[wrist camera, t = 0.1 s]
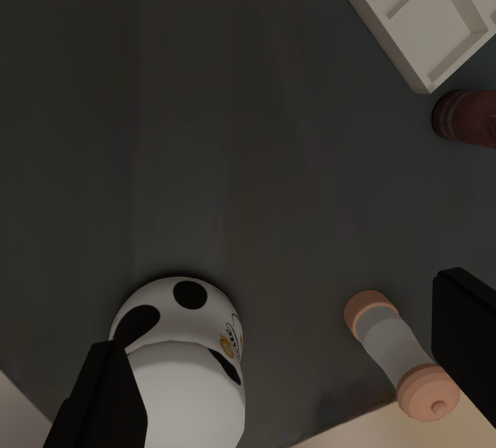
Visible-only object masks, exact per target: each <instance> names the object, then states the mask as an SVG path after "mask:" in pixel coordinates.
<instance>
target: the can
mask: <svg viewBox="0 0 496 448" xmlns="http://www.w3.org/2000/svg"><path fill="white" fill-rule="evenodd" d="M433 124H434V128H435V130H436V132H437V133H438V134H439V135H440V136H441V137H442V138H445V139H448V140H453V141H458V142H463V143H468V144H473V145H478V146H483V147H488V148H493V149H496V90H456V91H453V92H450V93H449V94H447V95H446V96H444V97H443V98H442V99H441V101H440V102H439V103H438V104H437V106H436V108H435V111H434V115H433Z"/></svg>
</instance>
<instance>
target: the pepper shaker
mask: <svg viewBox="0 0 496 448" xmlns="http://www.w3.org/2000/svg"><path fill="white" fill-rule="evenodd" d="M344 320H345V322H346V324H347V326H348V327H349V329H350V330H351V332H352V334H353V335H354V337H355V338H356V339H357V340H358V341H360V342H361V343H362V345H363V347H364V348H365V350H366V352H367V353H368V354H369V355H370V356H371V357H372V358H373V359H374V360H375V361H376V362H377V363H378V364H379V365H380V367H381V368H382V369H383V370H384V371H385V373H386V374H387V376H388V377H389V379H390V380H391V382H392V383H393V385H394V386H395V388H396V398H397V402H398V404H399V407H400V408H401V409H402V410H403V411H404V412H405V413H406V414H407V415H408V416H409V417H411V418H413V419H416V420H419V421H421V422H432V421H436V420H439V419H441V418H444V417H445V416H447V415H448V414H450V413H451V412H452V411H453V410H454V408H455V407H456V406H457V404H458V402H459V397H460V388H459V387H458V385H457V384H456V383H455V382H454V381H453V380H452V378H451V377H450V376H449V375H448V374H447V373H446V372H445V370H444V369H443V368H442V367H441V366H440V365H438V364H435V363H434V362H433V361H432V360H431V359H430V357H429V356H428V355H427V354H426V353H425V351H424V350H423V349H422V348H421V346H420V345H419V343H418V341H417V340H416V338H415V336H414V334H413V333H412V331H411V329H410V328H409V326H408V325H407V324H406V323H405V322H404V321H403V319H402V318H401V317H400V316H399V314H398V310H397V309H396V308H395V307H394V306H393V305H392V304H391V302H390V301H389V300H388V299H387V298H386V297H385V296H384V295H383V294H382V293H380V292H378V291H374V290H367V291H362V292H360V293H357V294H356V295H354V296H353V297H352V298H351V299H350V300H349V301H348V302H347V304H346V306H345V308H344Z"/></svg>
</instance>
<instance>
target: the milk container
mask: <svg viewBox="0 0 496 448" xmlns="http://www.w3.org/2000/svg"><path fill="white" fill-rule="evenodd" d="M109 340H115V341H116V343H117V344H119V343H122V344H123V346H124V348H125V351H126V354H127V357H128V360H129V362H130V365H131V368H132V371H133V374H134V377H135V380H136V383H137V385H138V388H139V391H140V394H141V397H142V400H143V403H144V405H145V408H146V411H147V416H148V428H147V434H146V440H145V447H144V448H235V447H236V446H237V444H238V442H239V440H240V438H241V436H242V434H243V432H244V420H245V392H244V387H243V378H242V373H241V368H240V359H241V355H242V349H243V333H242V327H241V323H240V320H239V317H238V315H237V312H236V310H235V308H234V307H233V305H232V303H231V302H230V300H229V299H228V298H227V297H226V296H225V295H224V294H223V293H222V292H221V291H220V290H219V289H217V288H216V287H214V286H213V285H211V284H209V283H207V282H204V281H202V280H199V279H195V278H189V277H169V278H163V279H159V280H156V281H153V282H151V283H149V284H147V285H145V286H143V287H141V288H140V289H138V290H137V291H136V292H135V293H133V294H132V295H131V296H130V297H129V298H128V300H127V301H126V302H125V303H124V305H123V306H122V307H121V309H120V310H119V312H118V314H117V316H116V317H115V320H114V322H113V325H112V327H111V331H110V335H109Z"/></svg>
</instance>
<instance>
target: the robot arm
mask: <svg viewBox="0 0 496 448" xmlns="http://www.w3.org/2000/svg"><path fill="white" fill-rule="evenodd" d="M431 349H432V354H433V356H434V358H435V360H436V361H437V362H438V364H439V365H440V366H441V367H442V368H443V369H444V370H445V372H446V373H447V374H448V375H449V376H450V377H451V378H452V380H453V381H454V382H455V383H456V384H457V385H458V387H459V388H460V389H461V390H462V391H463V392H464V393H465V395H467V397H468V398H469V399H470V400H471V401H472V403H473V404H474V405H475V406H476V407H477V408H478V409H479V411H480V412H481V413H482V414H483V415H484V416H485V417H486V419H487V420H488V421H489V422H490V423H491V424H492V426H493V427H494V428H495V429H496V291H495V290H494V289H492V288H491V287H489V286H488V285H486V284H485V283H483V282H482V281H480V280H479V279H477V278H476V277H474V276H473V275H472V274H470V273H469V272H467V271H466V270H464V269H463V268H460V267H456V268H451V269H446V270H442V271H439V272H438V274H437V277H434V279H433V294H432V340H431ZM147 428H148V416H147V411H146V408H145V405H144V403H143V400H142V397H141V394H140V391H139V388H138V385H137V383H136V380H135V377H134V374H133V371H132V368H131V365H130V362H129V360H128V357H127V354H126V351H125V348H124V346H123V344H122V343H119V344H117V343H116V341H115V340H108V341H104V342H99V343H94V344H92V346H91V348H90V350H89V353H88V355H87V357H86V360H85V362H84V364H83V367H82V369H81V371H80V374H79V376H78V379H77V381H76V383H75V386H74V388H73V390H72V393H71V395H70V397H69V398H67V399H66V400H65V401H64V402H63V403H62V405H61V407H60V409H59V412H58V414H57V416H56V418H55V421H54V423H53V425H52V428H51V430H50V432H49V434H48V437H47V439H46V441H45V443H44V446H43V448H144V447H145V440H146V434H147Z"/></svg>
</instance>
